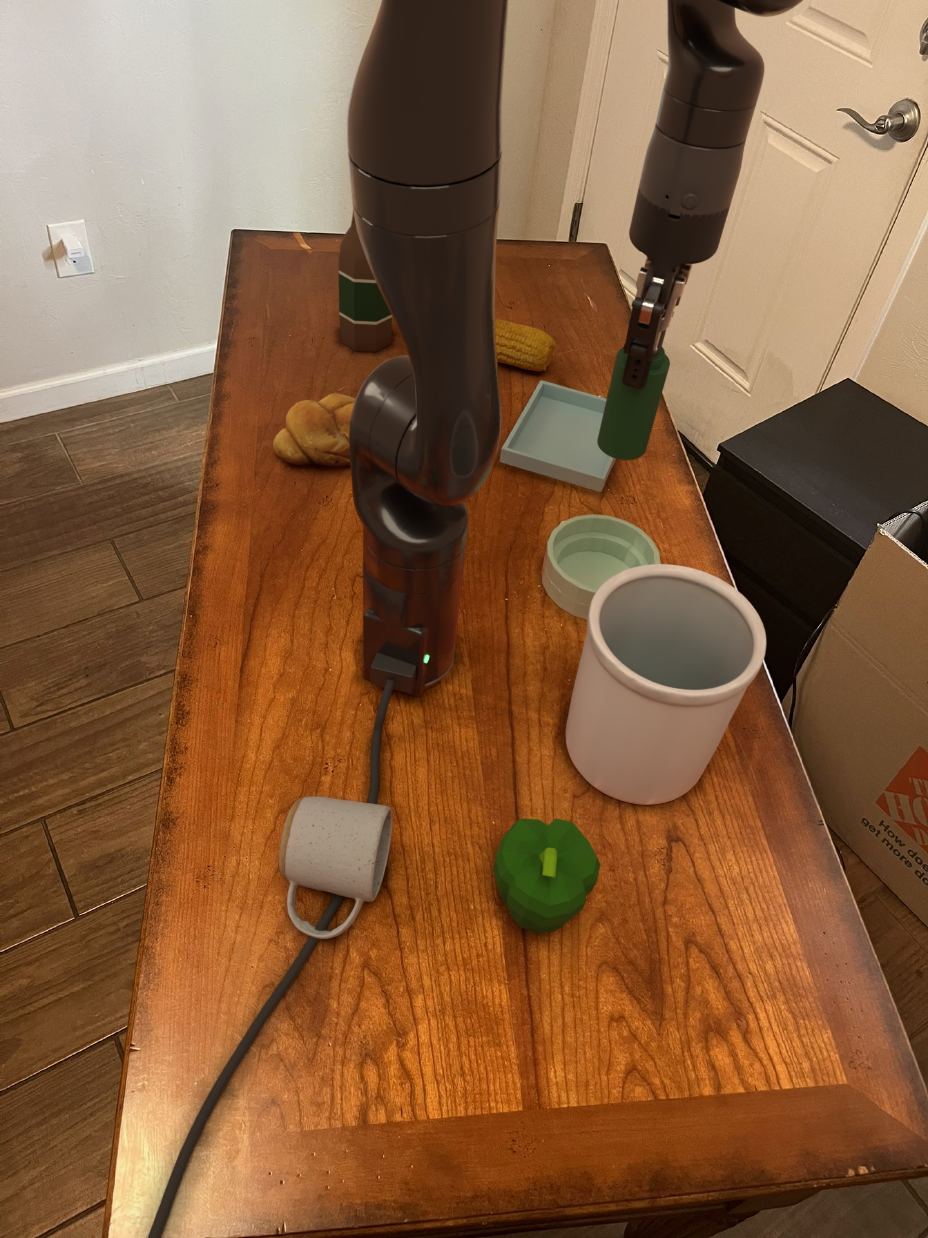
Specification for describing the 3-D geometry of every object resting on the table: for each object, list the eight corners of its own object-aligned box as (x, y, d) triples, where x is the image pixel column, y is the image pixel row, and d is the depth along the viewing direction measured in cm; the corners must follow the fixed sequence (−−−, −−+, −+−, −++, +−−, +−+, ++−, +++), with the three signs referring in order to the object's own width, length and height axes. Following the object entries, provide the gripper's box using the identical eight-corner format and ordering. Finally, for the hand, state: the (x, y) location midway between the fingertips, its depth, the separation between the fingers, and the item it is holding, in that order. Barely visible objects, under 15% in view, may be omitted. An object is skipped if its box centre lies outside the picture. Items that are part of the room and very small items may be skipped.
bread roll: (277, 480, 112) (272, 426, 106) (269, 430, 118) (264, 376, 112) (384, 471, 115) (385, 417, 109) (370, 422, 121) (371, 368, 115)
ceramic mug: (302, 818, 83) (296, 773, 77) (393, 835, 82) (395, 790, 77) (267, 934, 76) (258, 894, 70) (366, 953, 76) (366, 914, 70)
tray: (600, 495, 115) (604, 479, 113) (499, 465, 117) (501, 448, 115) (631, 422, 125) (635, 406, 123) (538, 395, 128) (540, 379, 126)
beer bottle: (330, 328, 134) (325, 156, 117) (381, 319, 137) (384, 149, 119) (349, 358, 130) (347, 183, 112) (401, 348, 133) (407, 176, 115)
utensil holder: (533, 702, 93) (560, 580, 80) (663, 667, 98) (710, 546, 84) (597, 829, 85) (640, 716, 71) (738, 785, 89) (803, 670, 76)
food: (554, 363, 133) (561, 326, 129) (542, 384, 130) (548, 346, 125) (418, 323, 137) (420, 285, 133) (402, 342, 134) (404, 304, 129)
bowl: (635, 640, 100) (645, 608, 96) (526, 604, 102) (532, 572, 98) (660, 565, 108) (670, 534, 104) (558, 534, 110) (565, 502, 106)
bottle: (639, 465, 93) (672, 346, 83) (591, 451, 94) (618, 331, 84) (651, 437, 96) (684, 319, 86) (604, 423, 97) (631, 305, 87)
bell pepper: (516, 837, 83) (531, 777, 76) (599, 885, 81) (623, 827, 73) (467, 913, 78) (478, 857, 71) (555, 967, 76) (575, 914, 68)
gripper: (660, 145, 81) (621, 322, 94) (618, 214, 72) (581, 399, 84) (747, 165, 79) (694, 342, 92) (715, 237, 70) (662, 422, 83)
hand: (640, 368), depth 88 cm, fingers closed on bottle, 5 cm apart
